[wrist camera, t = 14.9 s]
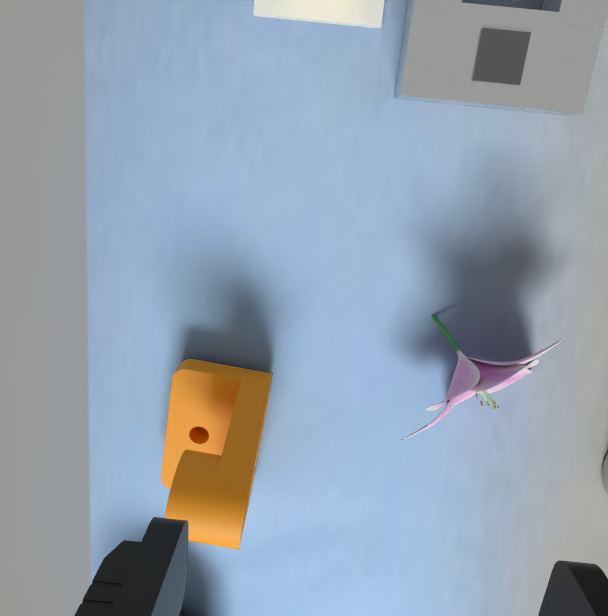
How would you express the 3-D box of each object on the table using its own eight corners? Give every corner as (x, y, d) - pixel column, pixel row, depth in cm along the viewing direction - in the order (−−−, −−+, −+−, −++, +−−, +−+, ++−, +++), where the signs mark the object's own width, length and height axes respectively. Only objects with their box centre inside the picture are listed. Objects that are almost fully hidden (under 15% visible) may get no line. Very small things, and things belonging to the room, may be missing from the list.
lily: (363, 398, 43) (420, 502, 36) (365, 287, 35) (438, 392, 28) (491, 357, 45) (567, 447, 38) (519, 245, 37) (621, 332, 30)
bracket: (182, 352, 41) (128, 437, 29) (273, 368, 41) (254, 459, 30) (169, 466, 44) (115, 581, 33) (253, 481, 44) (229, 601, 33)
